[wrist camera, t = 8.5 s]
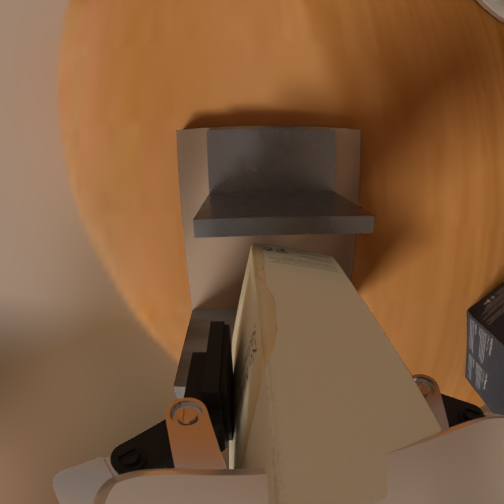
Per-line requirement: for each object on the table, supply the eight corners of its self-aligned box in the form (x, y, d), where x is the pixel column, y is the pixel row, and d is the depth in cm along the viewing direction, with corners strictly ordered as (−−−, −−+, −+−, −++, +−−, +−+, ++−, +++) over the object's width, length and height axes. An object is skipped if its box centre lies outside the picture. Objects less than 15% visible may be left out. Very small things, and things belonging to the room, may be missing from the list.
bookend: (332, 130, 18) (378, 127, 11) (331, 201, 19) (373, 233, 13) (207, 130, 17) (187, 124, 11) (210, 204, 19) (194, 237, 13)
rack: (352, 130, 19) (427, 128, 10) (338, 323, 25) (374, 404, 16) (181, 130, 19) (132, 124, 10) (199, 330, 24) (183, 418, 16)
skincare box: (250, 239, 14) (268, 512, 3) (337, 254, 15) (476, 467, 3) (230, 343, 16) (221, 558, 5) (304, 351, 17) (351, 548, 5)
